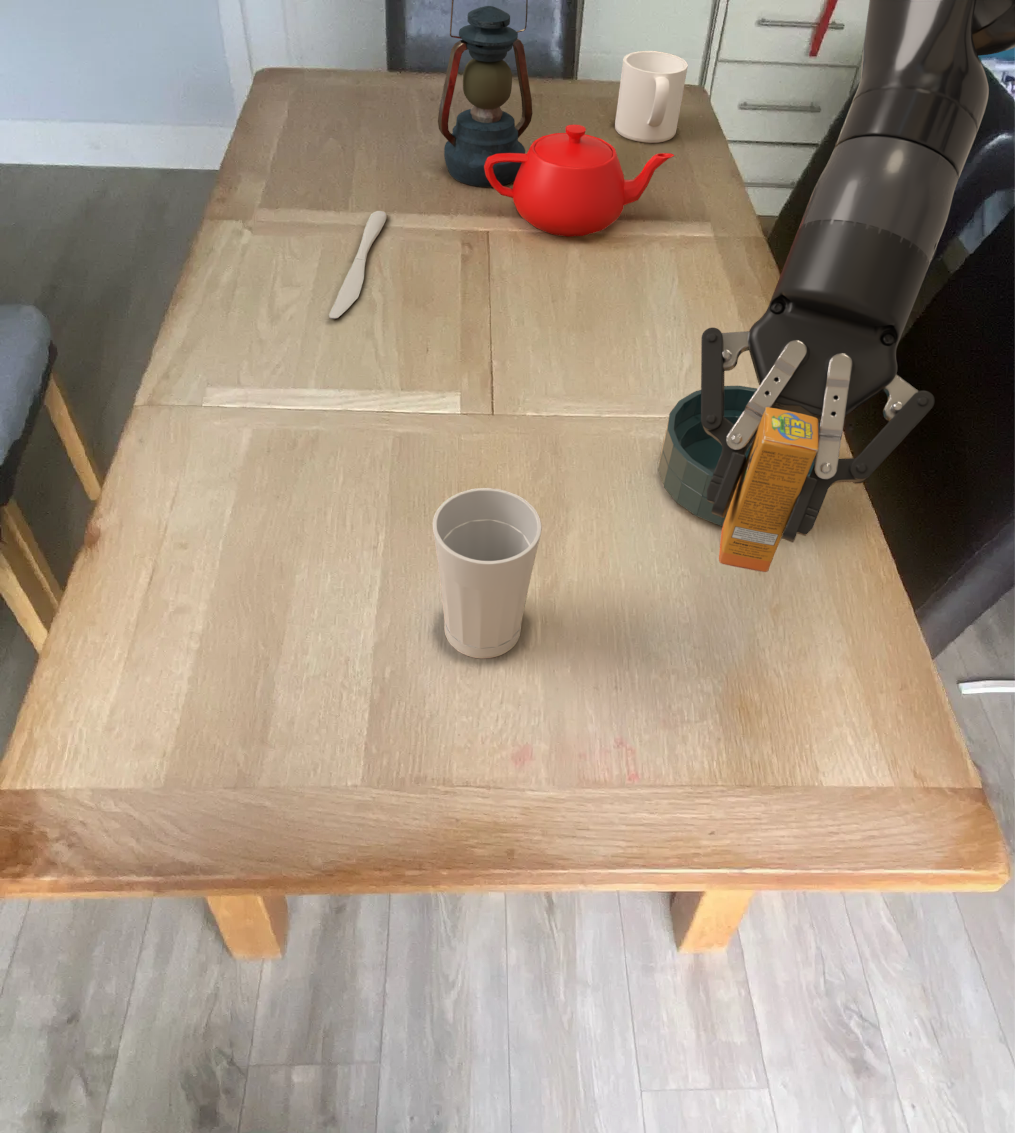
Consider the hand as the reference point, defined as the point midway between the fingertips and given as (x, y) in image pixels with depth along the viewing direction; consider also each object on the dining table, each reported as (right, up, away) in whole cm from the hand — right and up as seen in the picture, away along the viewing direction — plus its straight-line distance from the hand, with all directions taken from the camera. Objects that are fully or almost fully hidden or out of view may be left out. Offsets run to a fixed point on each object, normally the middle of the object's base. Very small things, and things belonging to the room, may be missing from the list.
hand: (753, 526), depth 53 cm
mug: (+8, +68, +94) cm, 116 cm away
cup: (-16, -8, +22) cm, 29 cm away
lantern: (-18, +56, +81) cm, 100 cm away
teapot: (-5, +46, +72) cm, 86 cm away
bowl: (+8, +6, +36) cm, 37 cm away
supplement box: (+1, -2, +4) cm, 5 cm away
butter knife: (-33, +36, +61) cm, 78 cm away
